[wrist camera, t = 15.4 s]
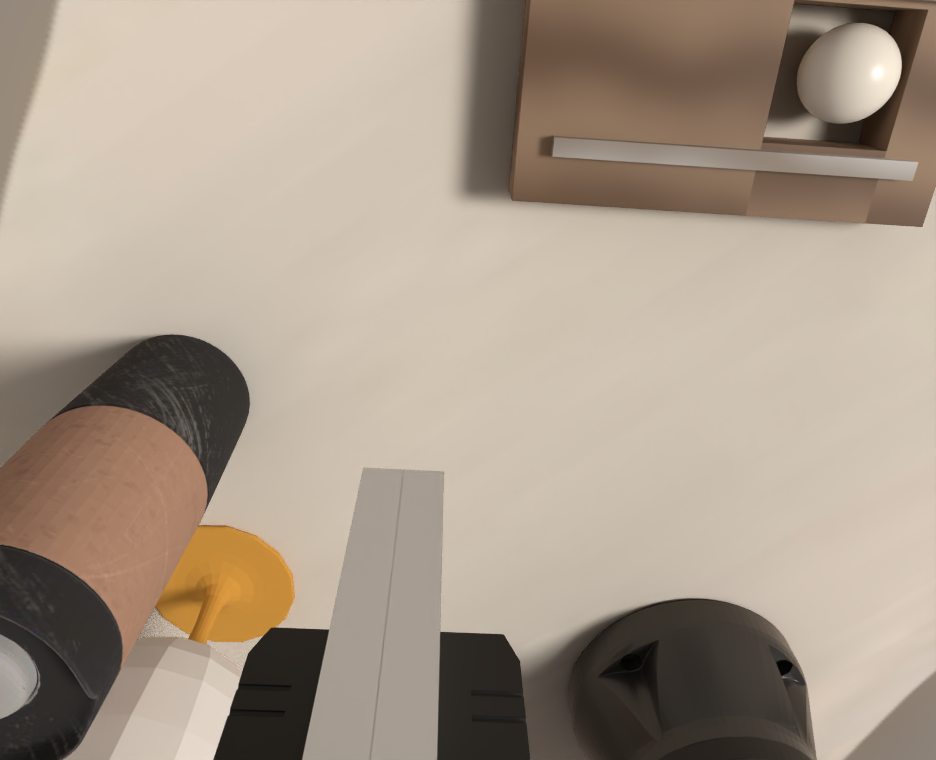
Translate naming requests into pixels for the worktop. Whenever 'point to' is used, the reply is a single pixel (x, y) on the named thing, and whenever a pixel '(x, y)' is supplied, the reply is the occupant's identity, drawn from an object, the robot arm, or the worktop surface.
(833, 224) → the worktop surface
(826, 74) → the cream ball
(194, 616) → the cup
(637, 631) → the robot arm
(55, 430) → the travel mug
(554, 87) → the hole deck
